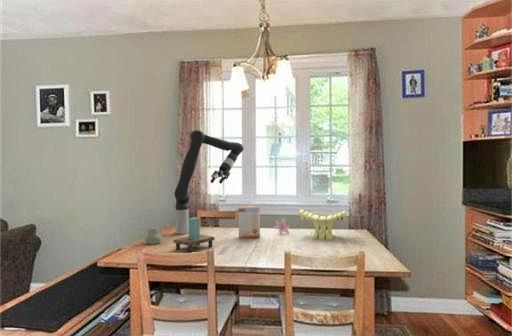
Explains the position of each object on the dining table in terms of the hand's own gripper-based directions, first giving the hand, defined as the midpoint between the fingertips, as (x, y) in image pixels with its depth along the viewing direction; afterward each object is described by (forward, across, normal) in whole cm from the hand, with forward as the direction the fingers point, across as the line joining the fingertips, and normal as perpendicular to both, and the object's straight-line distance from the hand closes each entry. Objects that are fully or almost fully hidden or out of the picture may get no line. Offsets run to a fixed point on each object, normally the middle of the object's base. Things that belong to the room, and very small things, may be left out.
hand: (215, 182), depth 282 cm
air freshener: (+57, -13, -5) cm, 58 cm away
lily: (+4, +34, +48) cm, 59 cm away
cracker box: (+20, +24, +32) cm, 45 cm away
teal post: (+47, +18, -4) cm, 51 cm away
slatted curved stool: (-1, +62, +53) cm, 82 cm away
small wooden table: (+51, +18, 0) cm, 54 cm away
